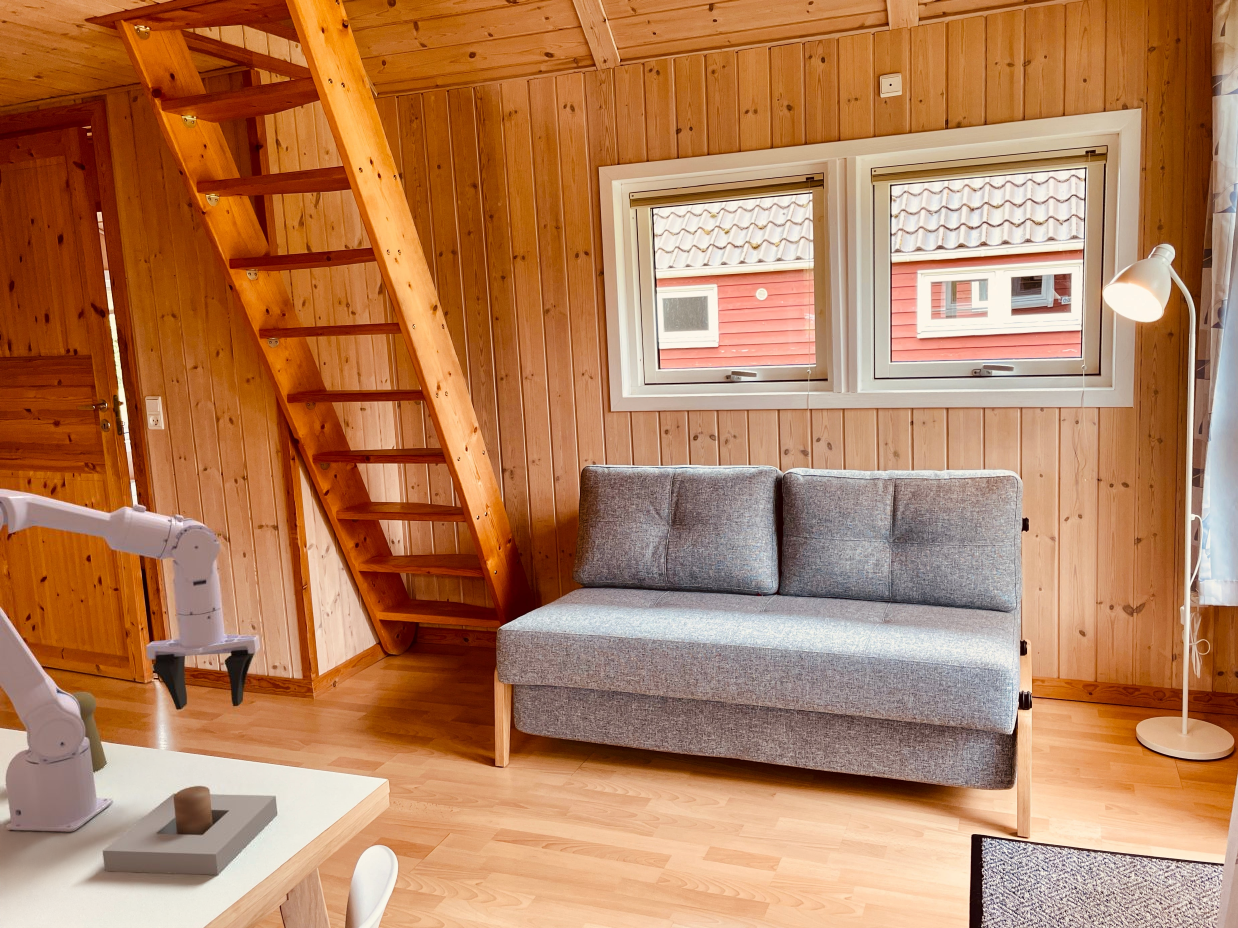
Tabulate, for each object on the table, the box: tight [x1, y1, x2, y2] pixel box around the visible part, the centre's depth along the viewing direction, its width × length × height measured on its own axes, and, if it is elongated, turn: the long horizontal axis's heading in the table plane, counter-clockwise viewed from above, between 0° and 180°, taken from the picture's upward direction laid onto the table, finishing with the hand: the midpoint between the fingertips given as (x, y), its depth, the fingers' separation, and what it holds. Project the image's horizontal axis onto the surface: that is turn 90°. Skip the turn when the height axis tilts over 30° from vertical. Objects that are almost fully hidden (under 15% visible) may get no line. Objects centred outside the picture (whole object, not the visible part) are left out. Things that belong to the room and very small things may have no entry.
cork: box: [70, 691, 108, 773], centre depth 141 cm, size 6×6×11 cm
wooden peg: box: [174, 785, 213, 835], centre depth 119 cm, size 4×4×6 cm
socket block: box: [102, 793, 278, 876], centre depth 119 cm, size 14×14×2 cm
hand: (209, 705), depth 136 cm, fingers open, 7 cm apart
